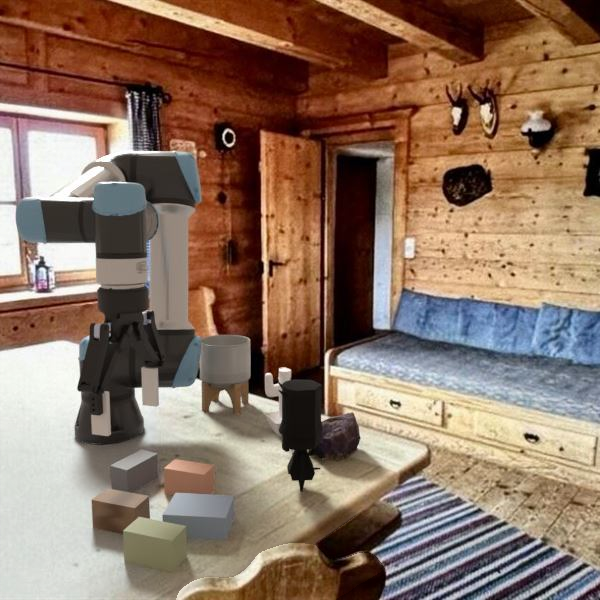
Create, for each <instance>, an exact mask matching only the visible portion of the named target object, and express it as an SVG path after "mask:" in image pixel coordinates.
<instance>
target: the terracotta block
mask: <svg viewBox="0 0 600 600" xmlns="http://www.w3.org/2000/svg"><path fill="white" fill-rule="evenodd" d="M215 481H216V480H215V464H210V463H202V462H196V461H189V460H183V459H176V458H175V459H173V460H172V461H170V462H169V463H168V464H167V465H166V466H165V467H164V468H163V483H164V485H163V487H164V488H163V490H164V495H169V496H174V494H175V493H194V494H213V493H214V491H215V490H216V489H215V488H216V487H215V485H216V484H215Z"/></svg>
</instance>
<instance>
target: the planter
mask: <svg viewBox="0 0 600 600" xmlns="http://www.w3.org/2000/svg"><path fill="white" fill-rule="evenodd" d="M201 341H202V342H201V355H200V362H199V379H200V380H201V412H203V413H209V412H210V407H211V404H212V402H215V403H216V402H217V401H218V402H219V401H220V400H219V399H220V392H222V391H225V392H226V393H227V394H228V396H229V398H230V401H231V404H232V411H233V412H232V413H233V414H234V415H238V414H242V411H241V409H242V407H241V403H242V404H248V403H249V380H250V379H251V373H252V372H251V339H250V338H249V337H247V336H244V335H240V334H239V335H238V334H217V335H216V334H215V335H209V336H204V337H201Z"/></svg>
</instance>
